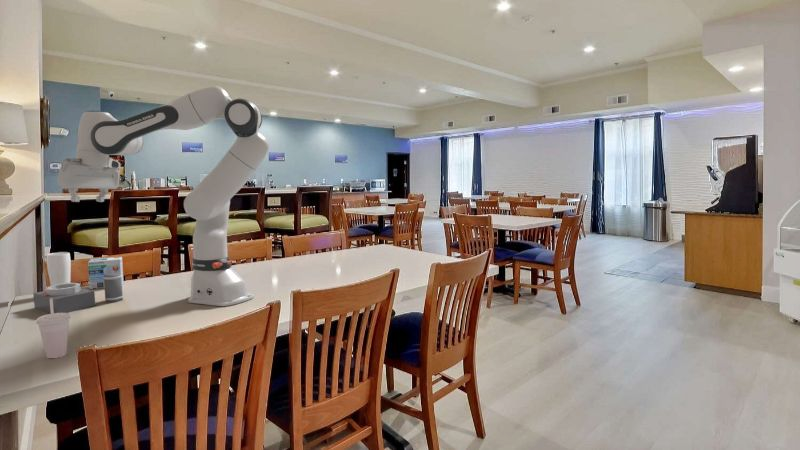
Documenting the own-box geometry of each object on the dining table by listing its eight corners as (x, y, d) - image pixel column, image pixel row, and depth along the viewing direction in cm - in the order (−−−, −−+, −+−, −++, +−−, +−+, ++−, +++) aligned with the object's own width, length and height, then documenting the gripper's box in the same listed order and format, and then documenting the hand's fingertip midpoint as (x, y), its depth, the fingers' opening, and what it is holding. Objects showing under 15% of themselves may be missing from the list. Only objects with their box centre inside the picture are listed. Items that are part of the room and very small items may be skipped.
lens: (126, 299, 151) (124, 274, 150) (110, 303, 147) (108, 277, 146) (117, 297, 153) (115, 272, 152) (102, 301, 149) (100, 275, 148)
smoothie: (67, 348, 109) (63, 293, 107) (77, 354, 105) (73, 298, 103) (35, 356, 103) (30, 299, 102) (44, 363, 100) (39, 304, 98)
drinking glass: (60, 297, 153) (56, 255, 151) (44, 296, 154) (40, 255, 152) (77, 292, 159) (74, 252, 158) (62, 291, 161) (59, 251, 159)
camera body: (95, 305, 144) (93, 285, 143) (56, 314, 134) (55, 292, 133) (73, 299, 150) (71, 280, 149) (34, 308, 141) (32, 287, 140)
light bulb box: (89, 289, 164) (86, 261, 163) (91, 285, 170) (89, 258, 169) (122, 286, 169) (120, 259, 168) (124, 282, 175) (122, 256, 174)
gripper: (71, 158, 132) (67, 203, 133) (124, 164, 152) (120, 203, 153) (54, 155, 133) (49, 200, 134) (109, 161, 153) (105, 200, 154)
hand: (87, 201), depth 144 cm, fingers open, 8 cm apart
